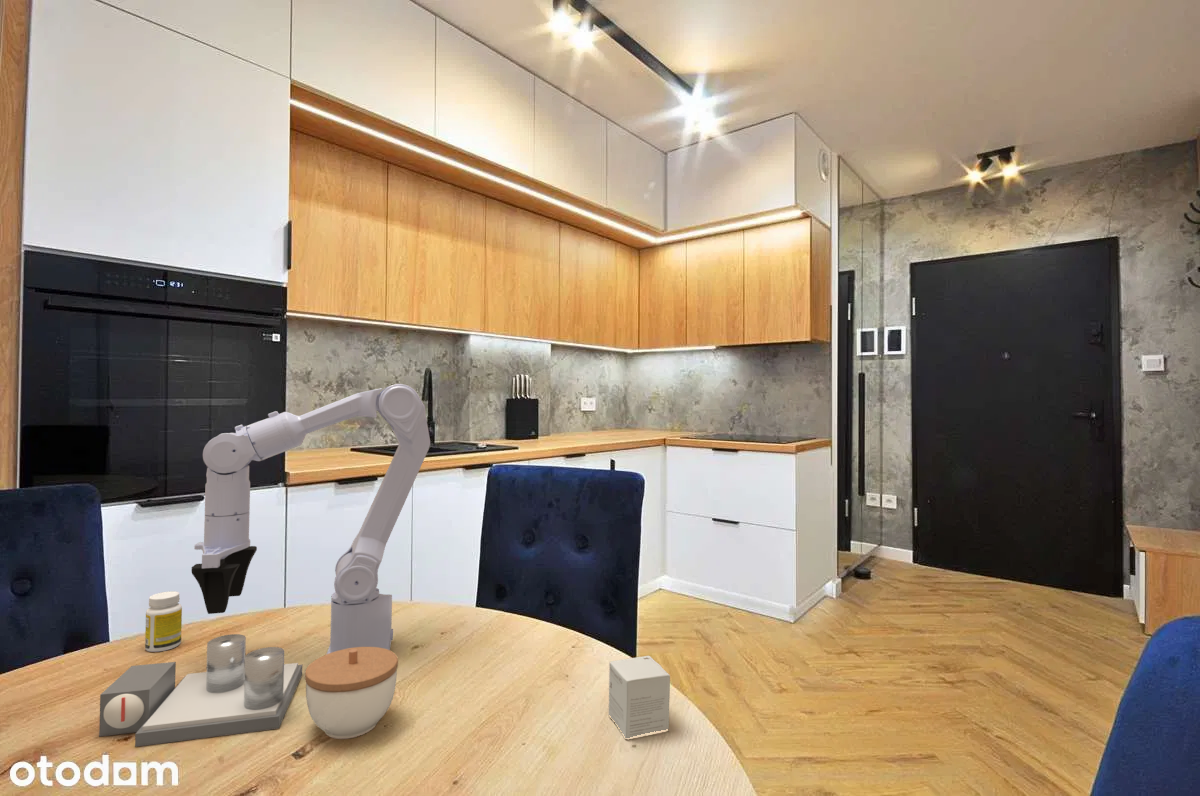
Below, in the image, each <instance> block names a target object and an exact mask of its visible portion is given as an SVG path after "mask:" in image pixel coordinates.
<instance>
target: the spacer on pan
mask: <svg viewBox="0 0 1200 796" xmlns="http://www.w3.org/2000/svg"><path fill="white" fill-rule="evenodd" d="M284 664H285V649H284V648H282V647H278V646H270V647H262V648H257V649H255V650H252V651H250V652H248V653H247V654H245V676H244V707H245V708H246V709H249V710H260V709H265V708H269V707H272V706H274V705H276V704H278V703H279V702H281V701H282V699H283V685H284Z"/></svg>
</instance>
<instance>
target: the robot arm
mask: <svg viewBox="0 0 1200 796" xmlns="http://www.w3.org/2000/svg"><path fill="white" fill-rule="evenodd" d="M377 412H378V413H379V415H380V416H381V417H382V418H383V419H384V421H385V422H387V423H388V425H389V426H390V427H391V430H392V432H393V434H394V437H395V439H396V440H397V443H398V446H397V448H396V450H395V453H394V455H393V457H392V459H391V461H390V464H389V465H388V468H387V470H386V473H385V474H384V477H383V479H382V481H381V483H380V486H379V488H378V489H377V492H376V495H375V496H374V498H373V501H372V503H371V505H370V507H369V510H368V512H367V514H366V516H365V518H364V521H363V522H362V525H361V527H360V528H359V531H358V533H357V534H356V536H355V538H354V539H353V540H352V543H351V545H350V547H349V548H348V550H347V551H346V552H344V553H343V554H341V556H340V557H339V559H338V560H336V561H337V562H336V564H335V567H334V572H335V578H334V582H333V583H334V585H333V586H334V588H333V589H334V592H333V593H332V594H331V597H330V604H331V605H330V643H329V647H328V648H327V649H328V650H327V652H326V654H329V653H332V652H335V651H338V650H343V649H348V648H355V647H379V648H384V649H387V650H390V651H391V645H392V644H391V643H392V641H393V640H394V628H392V627H393V626H392V625H393V623H392V622H393V621H392V618H393V617H392V616H393V615H392V614H393V595H392V594H384V593H380V589H379V588H378V583H379V575H378V572H379V568H380V565H381V563H382V559H383V557H384V553H385V548H386V547H387V546H386V545H387V543H388V542H389V541H388V540H389V538H390V536H391V534H392V532H393V529H394V527H395V525H396V524H397V520H398V519H399V516H400V514H401V511H402V509H403V508H404V505H405V503H406V501H407V498H408V496H409V494H410V492H411V490H412V487H413V485H414V483H415V481H416V479H417V476H418V474H419V471H420V469H421V467H422V465H423V463H424V460H425V458H426V457H427V453H428V452H429V449H430V447H431V438H430V431H429V427H428V420H427V415H426V406H425V404H424V403H423V401H422V399H421V398H420V396H419V394H418V392H417V391H416V390H415V389H414V388H413V387H411V386H410V385H407V384H405V383H404V384H403V383H395V384H392V385H388V386H386V387H384V388H382V387H381V388H380V387H379V388H375V389H370V390H366V391H365V390H364V391H361V392H357V393H354V394H351V395H349V396H347V397H344V398H342V399H338V400H336V401H334V402H331V403H329V404H326V405H324V406H321V407H318V408H316V409H313V410H311V411H308V412H305V413H304V414H301V415H297V414H294V413H291V412H288V411H283V412H281V413H279V412H278V410H277V411H276V410H275V411H273V412H270V413H268V414H267V416H268V417H267V418H265V419H262V420H258V421H255V422H253V423H251V424H248V425H243V424H240V425H236V426H234V430H235V432H224V433H220V434H218V435H217V436H215V437H213V438H211V439H210V440H209V441H208V442H207V443H206V444H205V445H204V448H203V450H202V460H203V463H204V465H206V474H205V475H206V476H205V477H206V483H205V485H204V487H205V489H204V490H205V492H204V493H205V494H204V528H203V541H202V542H201V541H200V542H197V543H195V544H194V546H193V547H194V550H196V551H198V550H201V551H202V553H203V554H201V563H195V564H194V565H192V567H191V574H192V576H193V577H194V579H195V580H196V581H197V584H198V585H199V587H200V590H201V592H202V593H201V594H202V597H203V600H204V605H205V609H206V612H207V615H213V614H214V615H215V614H223V613H226V610H227V609H228V604H229V599H230V597H240V596H241V595H242V592H243V589H244V587H245V581H246V578H247V577H246V576H247V574H248V569H249V567H250V564H251V561H252V559H253V558H254V555H255V554H256V552H257V549H258V548H257V546H255V545H251V539H250V513H251V512H250V511H251V509H250V506H251V505H250V504H251V503H250V502H251V501H250V500H251V481H250V463H251V462H252V461H256V462H261V461H265V460H266V459H268V458H272V457H274V456H276V455H279V454H282V453H285V452H287V451H289V450H292V449H295V448H298V447H300V446H301V445H302V444H303V443H304V440H305V438H306V436H307V434H310V433H313V432H316V431H318V430H321V429H324V428H327V427H330V426H332V425H335V424H338V423H341V422H343V421H347V420H350V419H353V418H355V417H365V418H375V419H376V418H377V417H378V416H377Z"/></svg>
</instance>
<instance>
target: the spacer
mask: <svg viewBox="0 0 1200 796" xmlns="http://www.w3.org/2000/svg"><path fill="white" fill-rule="evenodd" d="M246 639H247V637H246V635H244V634H239V633H236V634H231V633H230V634H226V635H221V636H217V637H214V638H212V639H210V640H209V641H208V642H207V643H206V645H207V647H206V672H207V674H206V691H207V692H210V693H223V692H228V691H232V690H234V689H237V688H239V687H241V686H242V685H243V684H244V676H245V656H246V646H247V645H246V644H247V642H246Z"/></svg>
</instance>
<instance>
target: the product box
mask: <svg viewBox="0 0 1200 796" xmlns="http://www.w3.org/2000/svg"><path fill="white" fill-rule="evenodd" d="M608 666H609V667H608V668H609V671H608V672H609V674H608V675H609V676H608V677H609V680H608V685H609V686H608V716H609V715H610V716H611V718H612V719H613V720H614V721H615V723H616V724H617V725H618V727H619V728H620V730H621V731H622V733H623V734H624V736H625V738H630V737H633V736H637V735H641V734H645V733H650V732H654V731H655V732H656V731H661V730H666V729H669V730H670V726H669V725H670V698H671V697H670V694H671V693H670V691H671V690H670V689H671V675H670V674H669V673H668V672H667V671H666V670H665V669H664V668H663V667H662V665H661V664H659V662H657V661H656V660H654V658H653V657H652V656H650V655H644V656H638V657H637V656H636V657H632V658H631V657H630V658H623V659H617V660H612V661H609V665H608Z"/></svg>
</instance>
